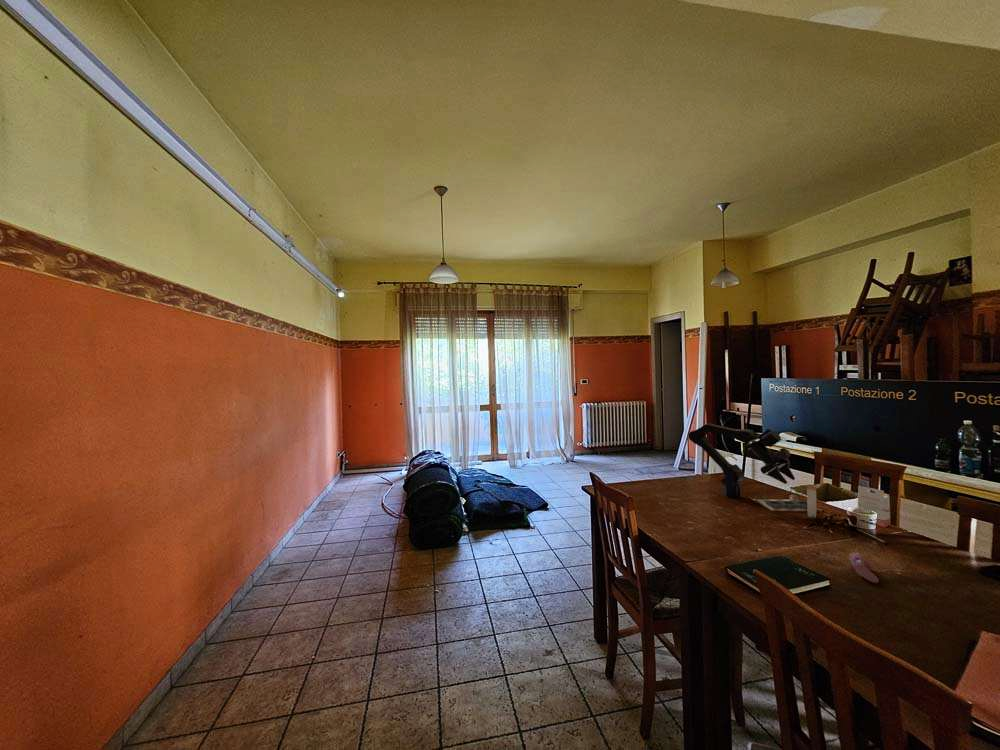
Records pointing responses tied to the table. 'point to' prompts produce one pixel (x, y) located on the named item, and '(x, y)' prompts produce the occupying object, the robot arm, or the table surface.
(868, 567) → the pink rounded piece
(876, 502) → the ink cartridge box
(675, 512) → the table surface
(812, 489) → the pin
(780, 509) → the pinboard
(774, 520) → the table surface
